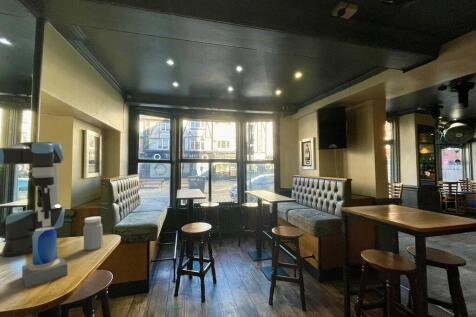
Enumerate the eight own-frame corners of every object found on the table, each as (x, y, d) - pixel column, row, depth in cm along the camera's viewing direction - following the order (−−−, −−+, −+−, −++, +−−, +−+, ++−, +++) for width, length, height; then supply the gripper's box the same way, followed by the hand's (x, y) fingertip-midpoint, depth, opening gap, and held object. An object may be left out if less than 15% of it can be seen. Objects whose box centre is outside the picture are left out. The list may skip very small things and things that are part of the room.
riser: (22, 277, 103) (22, 265, 103) (61, 266, 113) (60, 255, 113) (25, 288, 93) (25, 275, 93) (67, 274, 103) (67, 263, 104)
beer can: (42, 268, 98) (41, 231, 99) (27, 267, 100) (27, 231, 101) (61, 260, 107) (60, 226, 107) (47, 259, 109) (46, 225, 109)
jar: (81, 252, 130) (81, 220, 130) (85, 246, 139) (84, 217, 139) (101, 249, 134) (101, 218, 134) (104, 243, 143) (103, 215, 143)
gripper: (29, 176, 109) (29, 220, 109) (35, 178, 92) (36, 230, 92) (49, 175, 115) (49, 217, 115) (59, 177, 98) (59, 226, 98)
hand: (44, 223), depth 104 cm, fingers open, 13 cm apart
